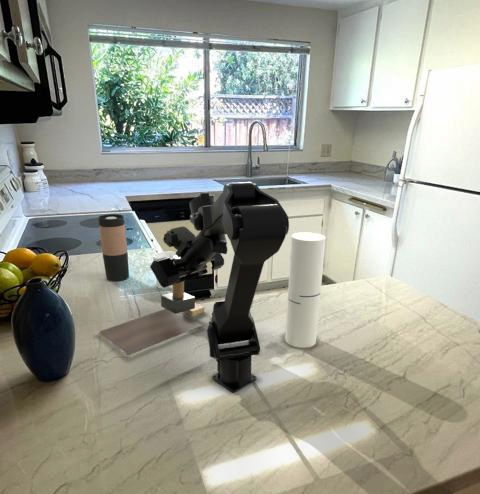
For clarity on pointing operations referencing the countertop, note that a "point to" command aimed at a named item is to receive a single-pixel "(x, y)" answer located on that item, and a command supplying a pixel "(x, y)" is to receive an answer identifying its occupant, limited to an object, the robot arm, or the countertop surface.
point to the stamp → (178, 298)
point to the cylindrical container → (304, 288)
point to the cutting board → (148, 330)
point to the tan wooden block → (195, 310)
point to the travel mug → (114, 246)
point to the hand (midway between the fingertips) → (174, 281)
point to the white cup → (161, 255)
